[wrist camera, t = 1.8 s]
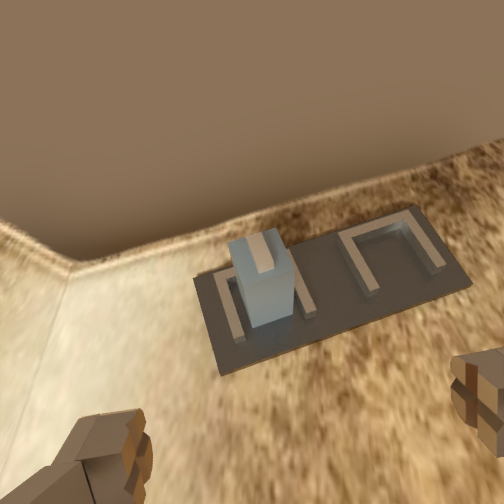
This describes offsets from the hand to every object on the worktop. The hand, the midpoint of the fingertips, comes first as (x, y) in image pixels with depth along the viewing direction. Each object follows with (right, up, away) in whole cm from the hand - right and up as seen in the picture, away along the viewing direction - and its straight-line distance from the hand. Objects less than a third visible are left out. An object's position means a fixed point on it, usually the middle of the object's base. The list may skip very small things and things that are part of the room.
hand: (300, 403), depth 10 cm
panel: (+6, +1, +27) cm, 28 cm away
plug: (0, -1, +26) cm, 26 cm away
